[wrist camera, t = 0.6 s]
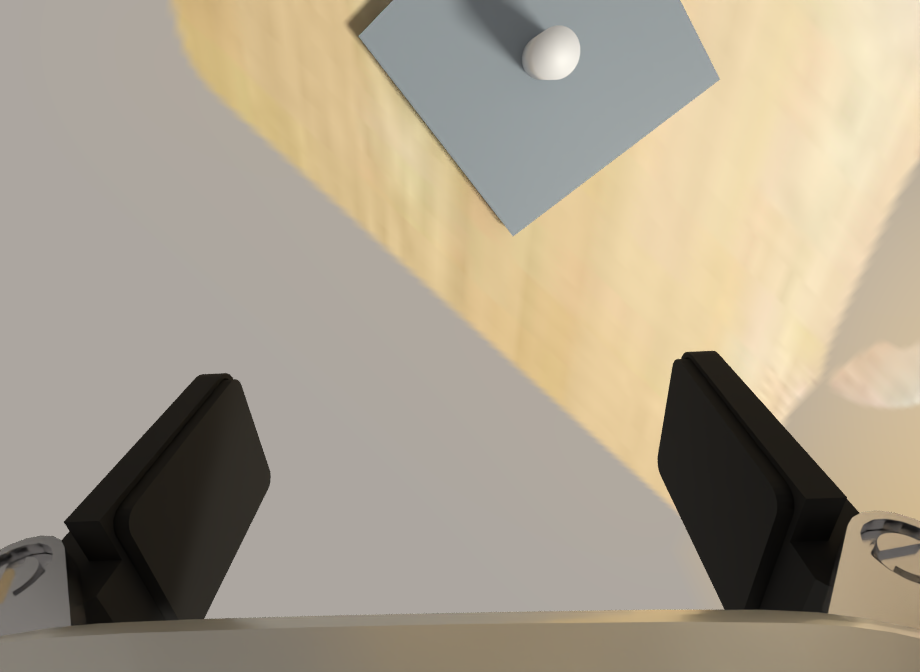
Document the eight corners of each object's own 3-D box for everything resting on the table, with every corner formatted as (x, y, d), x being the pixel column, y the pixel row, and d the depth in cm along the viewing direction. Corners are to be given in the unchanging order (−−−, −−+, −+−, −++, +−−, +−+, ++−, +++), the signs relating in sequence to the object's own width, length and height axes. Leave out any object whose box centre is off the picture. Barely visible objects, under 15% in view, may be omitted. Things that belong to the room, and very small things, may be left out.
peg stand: (575, -182, 26) (612, -272, 19) (709, 79, 32) (772, 79, 25) (362, 38, 31) (333, 26, 24) (511, 230, 37) (520, 263, 30)
